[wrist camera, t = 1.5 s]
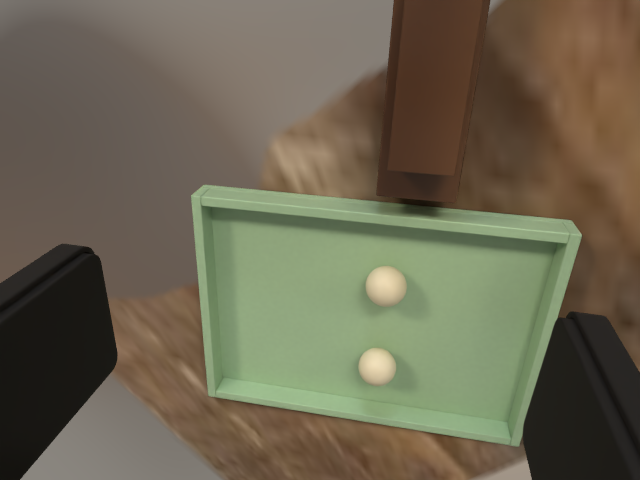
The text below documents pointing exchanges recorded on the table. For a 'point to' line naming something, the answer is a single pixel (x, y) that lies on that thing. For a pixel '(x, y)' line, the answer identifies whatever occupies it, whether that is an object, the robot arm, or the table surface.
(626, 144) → the table surface
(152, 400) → the table surface
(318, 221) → the tray
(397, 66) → the stepped brown post
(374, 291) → the crumb
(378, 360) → the crumb
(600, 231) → the table surface
